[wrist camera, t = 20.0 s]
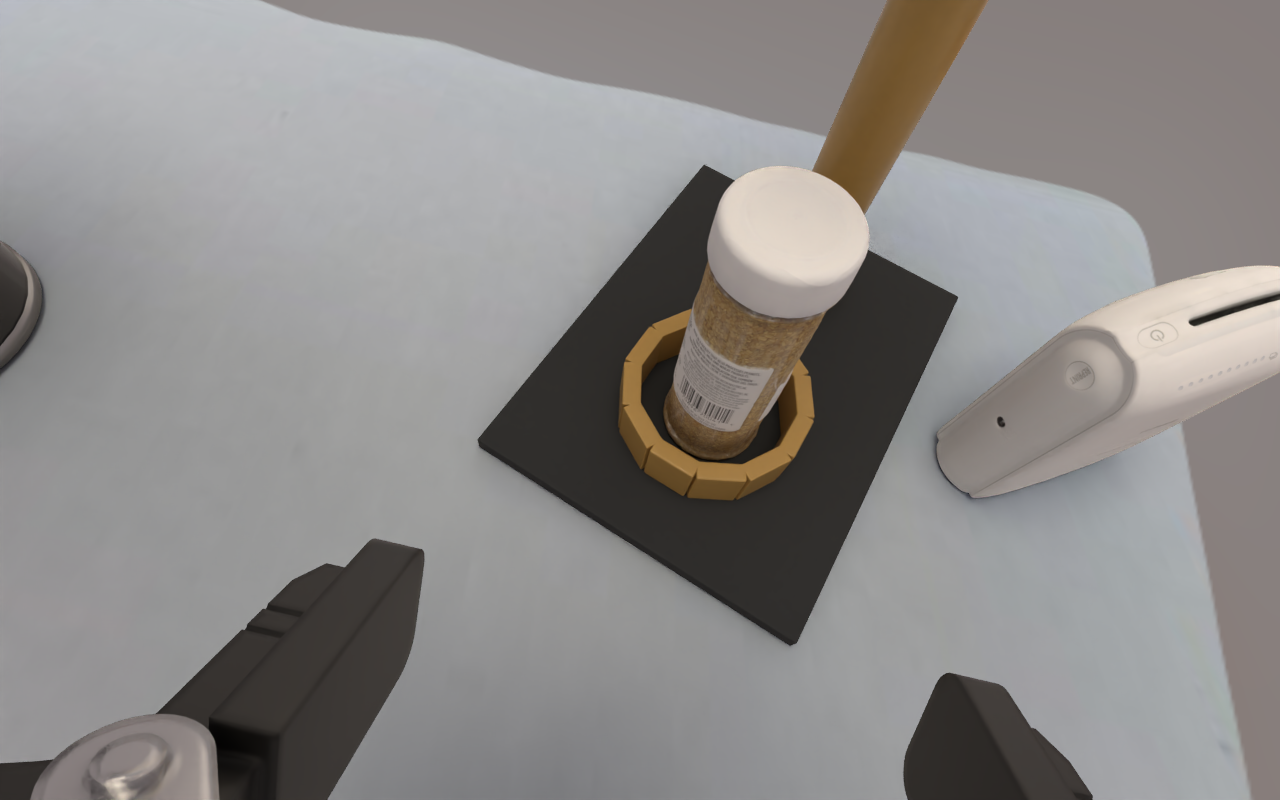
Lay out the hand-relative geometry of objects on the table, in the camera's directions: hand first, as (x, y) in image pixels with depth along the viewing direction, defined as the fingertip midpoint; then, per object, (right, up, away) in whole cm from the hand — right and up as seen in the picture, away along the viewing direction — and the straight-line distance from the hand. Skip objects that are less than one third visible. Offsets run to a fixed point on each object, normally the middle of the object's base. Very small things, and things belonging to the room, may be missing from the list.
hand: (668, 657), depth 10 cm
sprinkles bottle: (+3, +3, +21) cm, 21 cm away
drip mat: (+5, +6, +23) cm, 24 cm away
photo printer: (+19, +2, +23) cm, 30 cm away
